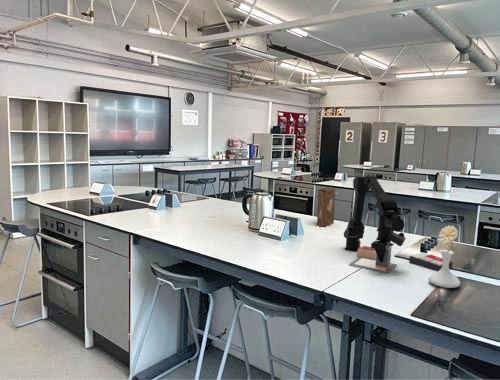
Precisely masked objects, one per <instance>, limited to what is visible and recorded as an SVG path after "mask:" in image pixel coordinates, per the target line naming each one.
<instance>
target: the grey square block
mask: <svg viewBox="0 0 500 380" xmlns="http://www.w3.org/2000/svg"><path fill="white" fill-rule="evenodd" d="M388 248H389V249H388V250H386V251H385V255H384V259H383V262H380V261H379V258H378V256H377V253H376V259H375V260H376V266H375V267H376V268H381V269H386V270H387V269H388V268H389V267H390V263H391V260H392V259H391V256H392V253H391V252H392V246H391V245H388Z"/></svg>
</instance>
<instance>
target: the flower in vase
mask: <svg viewBox="0 0 500 380" xmlns="http://www.w3.org/2000/svg"><path fill="white" fill-rule="evenodd" d="M458 234H459V230H458V229H457V227H455V226H454V225H447V226H444V227H443V228H441V230H439V234H438V242H440V243H442V246H444V247H445V248H447V249H448V250H447V249H440V250H439V252H440V254H441V258H443V264H442V268H441V270H439V271H435V272H434V273H432V274H431V275H429V277H428V281H429V282H430V283H431V284H433V285H435V286H438V287H441V288H447V289H451V288H452V289H454V288H458V287H459V286H461V281H460V279H458V277H457V276H455V274H453V273H452V272H451V270H450V269H449V260H450V261H451V257H452V256H453V255H454V253H458V249H457V245H453V241H455V240H456V238H457V237H458ZM447 244H448V245H449V244H451V246H450V247H449V246H448V245H447Z"/></svg>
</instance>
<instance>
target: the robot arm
mask: <svg viewBox="0 0 500 380" xmlns="http://www.w3.org/2000/svg"><path fill="white" fill-rule="evenodd" d="M352 187H353V190H354V192H355V194H354V202H353V203H354V204H353V207H352V208H353V209H352V214H351V215H352V216H351V220H350V221H348V223H347V226H346V228H345V230H344V232H343V237H344V238H345V248H344V250H347V251H353V252H357V250H358V249H359V248H360V247H361V241H360V240H361V239H364V234H365V225H364V223H363V213H364V207H365V200H366V195H367V193H369V192H370V191H371V193H372V195H373V197H374V198H375V200H376V201H375V207H376V209H377V210H378V211H377V213H376V214H377V215H378V227H377V228H376V232H377V237H376V240H374V241H372V242H371V244H370V247H371V248H373V249H375V251H376V253H377V256H378V258H379V261H380V262H383V259H384V255H385V251H386V250H388V249H389V248H388V245H391V247H393V246H394V245H397V246H399V247H401V246H403V245H404V243H405V241H406V237H405V233H404V232H402V231H403V230H404V228H405V222H404V220H403V219H402V218H401V214H400V209H399V207H398V204H397V201H396V200H395V198H394V197H392V195H390V194H387V192H386V191H385V190H384V188H383V187H382V185H381V184H380V182H379V180H378V178H377V176H376V175H365V176H355V177H354V178H353V180H352Z"/></svg>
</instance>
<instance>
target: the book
mask: <svg viewBox="0 0 500 380" xmlns="http://www.w3.org/2000/svg"><path fill="white" fill-rule="evenodd" d="M317 191H318V193H317V194H318V195H317V214H316V215H317V216H316V217H317V219H316V227H317V226H319V227H318V228H322V227H324V228H326V226H327V227H329V226H331V224H332V225H333V224H334V222H335V206H336V205H335V203H336V201H335V200H336V187H333V188H331V187H323V188H319V189H318V190H317Z"/></svg>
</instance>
